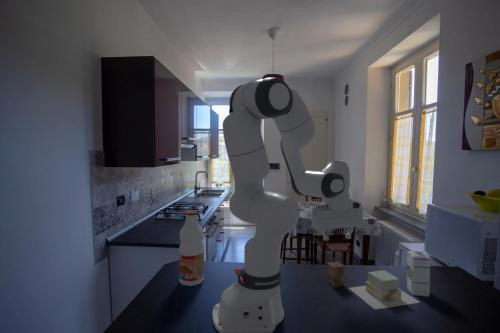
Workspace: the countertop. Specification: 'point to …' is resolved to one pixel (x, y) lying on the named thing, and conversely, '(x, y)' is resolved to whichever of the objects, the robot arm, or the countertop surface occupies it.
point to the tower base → (383, 293)
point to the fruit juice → (191, 251)
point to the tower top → (383, 280)
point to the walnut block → (335, 274)
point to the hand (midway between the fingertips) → (337, 239)
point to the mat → (379, 305)
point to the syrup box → (418, 273)
